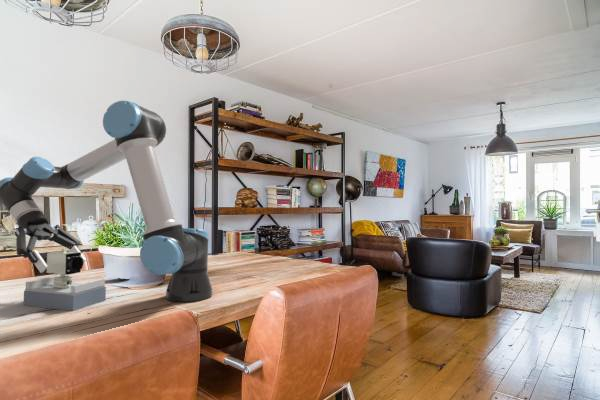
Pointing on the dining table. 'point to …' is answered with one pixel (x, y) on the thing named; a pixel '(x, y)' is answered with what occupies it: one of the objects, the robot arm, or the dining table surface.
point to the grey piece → (64, 294)
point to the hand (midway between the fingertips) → (64, 266)
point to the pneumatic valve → (63, 266)
